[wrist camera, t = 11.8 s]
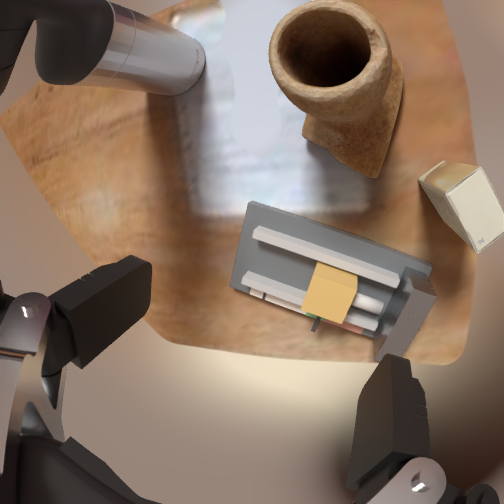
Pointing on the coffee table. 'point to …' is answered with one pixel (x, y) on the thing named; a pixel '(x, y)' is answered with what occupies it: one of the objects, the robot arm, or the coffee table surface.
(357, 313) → the base
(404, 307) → the grey end plate
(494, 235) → the skincare box
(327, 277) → the gauge carriage
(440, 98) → the coffee table surface
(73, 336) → the robot arm
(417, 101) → the coffee table surface
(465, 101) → the coffee table surface
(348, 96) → the brown clay boot
